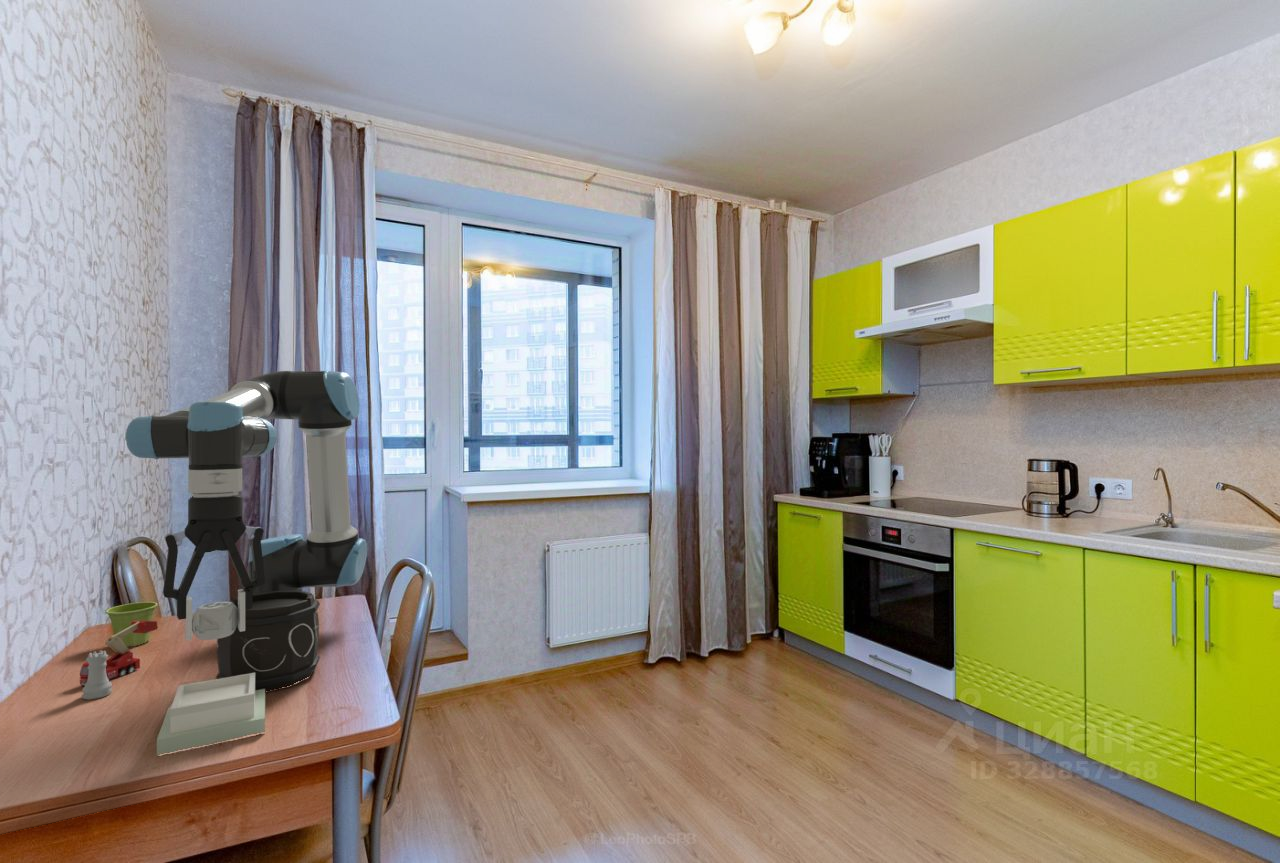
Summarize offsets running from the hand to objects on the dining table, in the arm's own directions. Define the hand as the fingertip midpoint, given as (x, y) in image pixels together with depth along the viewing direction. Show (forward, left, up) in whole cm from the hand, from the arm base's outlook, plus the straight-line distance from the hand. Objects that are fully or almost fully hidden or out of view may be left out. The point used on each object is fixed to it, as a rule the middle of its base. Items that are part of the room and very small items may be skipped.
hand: (215, 633), depth 105 cm
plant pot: (+11, -64, -16) cm, 67 cm away
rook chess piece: (+16, -30, -16) cm, 38 cm away
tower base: (0, 0, -16) cm, 16 cm away
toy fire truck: (+13, -41, -16) cm, 46 cm away
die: (0, 0, 0) cm, 0 cm away
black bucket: (-11, -19, -16) cm, 27 cm away
